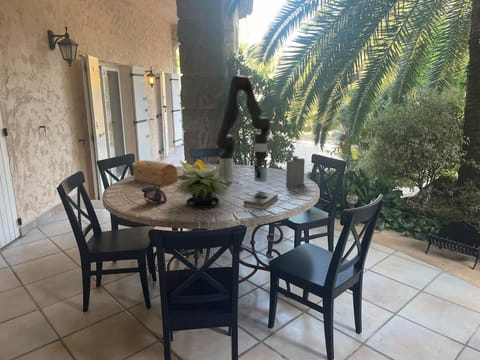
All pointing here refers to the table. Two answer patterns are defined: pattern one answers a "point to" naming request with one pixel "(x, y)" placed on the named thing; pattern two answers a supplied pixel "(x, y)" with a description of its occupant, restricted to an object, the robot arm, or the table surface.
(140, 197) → the table surface
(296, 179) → the hip flask
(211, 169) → the fruit bowl
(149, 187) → the dark grey rounded piece
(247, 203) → the block
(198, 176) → the fern plant
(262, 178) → the plug
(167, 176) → the wooden box
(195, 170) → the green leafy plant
